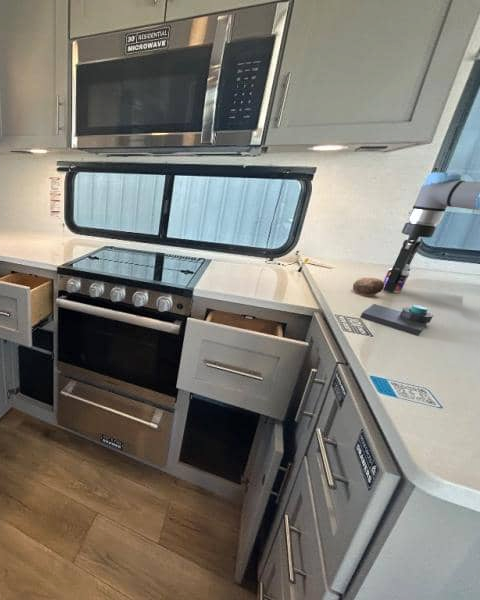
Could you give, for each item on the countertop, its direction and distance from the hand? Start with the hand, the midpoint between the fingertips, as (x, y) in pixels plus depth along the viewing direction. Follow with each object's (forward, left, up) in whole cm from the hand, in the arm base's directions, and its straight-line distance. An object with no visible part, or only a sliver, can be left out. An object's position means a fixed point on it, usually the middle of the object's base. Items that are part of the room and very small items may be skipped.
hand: (390, 289), depth 116 cm
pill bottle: (0, 0, -1) cm, 1 cm away
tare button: (-10, +32, +3) cm, 33 cm away
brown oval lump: (+4, +15, -1) cm, 15 cm away
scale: (-7, +35, 0) cm, 36 cm away
